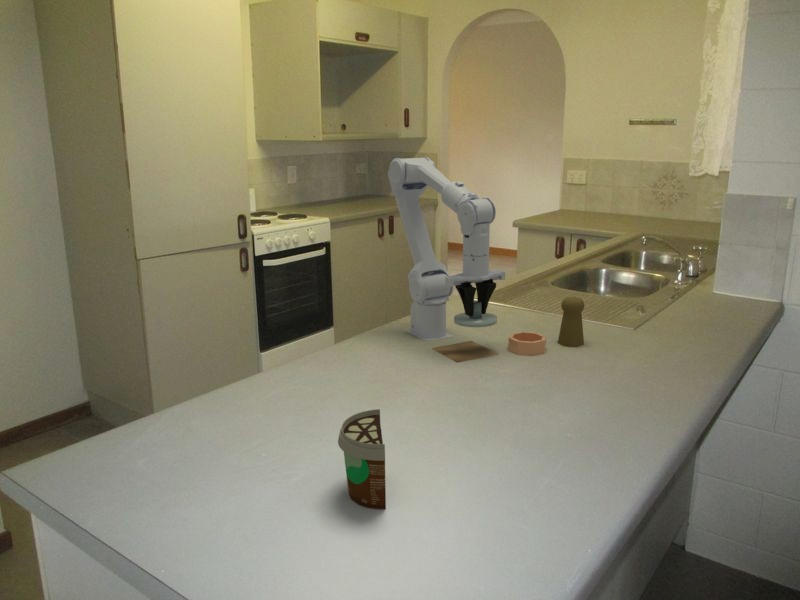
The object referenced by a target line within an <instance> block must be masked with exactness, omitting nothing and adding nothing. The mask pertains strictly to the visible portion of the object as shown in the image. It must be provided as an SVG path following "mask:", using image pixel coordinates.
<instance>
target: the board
mask: <svg viewBox="0 0 800 600" xmlns="http://www.w3.org/2000/svg"><path fill="white" fill-rule="evenodd" d="M431 349H432V350H433V351H435V352H437V353H438V354H441V355H443V356H444V357H445V358H448V359H450V360H451V361H454V362H455V363H462V362H466V361H471V360H472V361H473V360H476V359H483V358H487V357H491V356H492V357H493V356H498V355H499V353H498V352H496V351H494V350H492V349H490V348H487V347H486V346H484V345H481V344H479V343H477V342H475V341H473V340H468V341H463V342H458V343H453V344H452V343H451V344H448V345H441V346H437V347H431Z"/></svg>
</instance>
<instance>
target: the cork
mask: <svg viewBox="0 0 800 600" xmlns="http://www.w3.org/2000/svg"><path fill="white" fill-rule="evenodd" d="M560 307H561V309H562V312H563V313H562V318H561V322H560V323H561V324H560V329H559V334H558V339H557V343H558V344H559V345H561V346H564V347H570V348H571V347H572V348H578V347H579V348H580V347H581V346H584V345H585V339H584V338H585V336H584V329H583V328H584V327H583V315H582V313H583V310H584V309H585V302H584V299H582V298H580V297H576V296H568V297H567V296H566V297H564V298H563V299H562V301H561V305H560Z"/></svg>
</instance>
